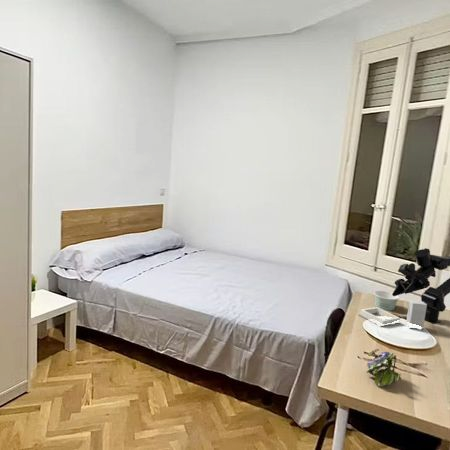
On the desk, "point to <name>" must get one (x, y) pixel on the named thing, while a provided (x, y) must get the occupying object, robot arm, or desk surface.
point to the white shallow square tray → (376, 311)
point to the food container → (385, 300)
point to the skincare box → (416, 312)
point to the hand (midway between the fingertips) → (398, 294)
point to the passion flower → (380, 362)
